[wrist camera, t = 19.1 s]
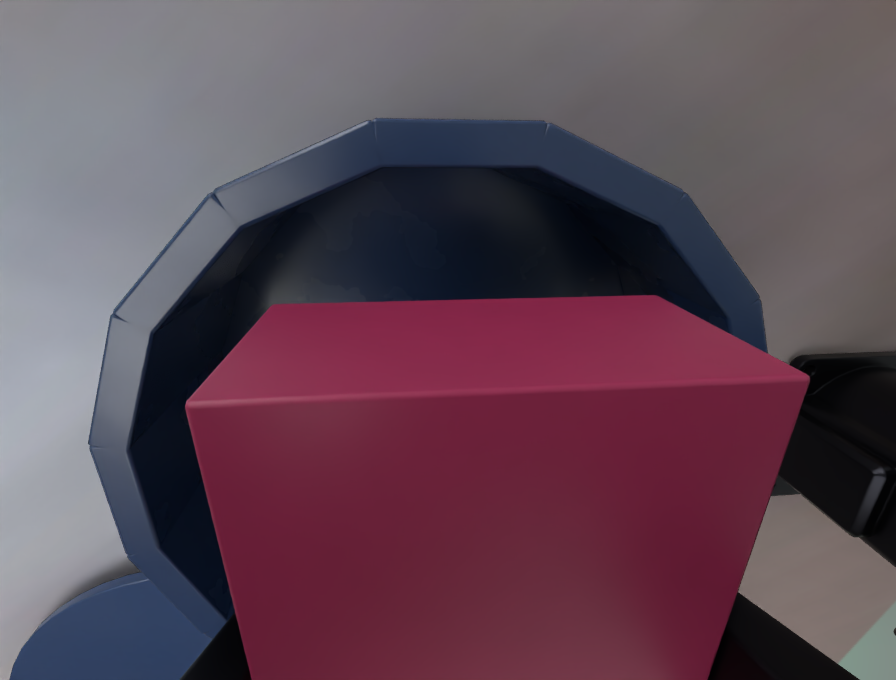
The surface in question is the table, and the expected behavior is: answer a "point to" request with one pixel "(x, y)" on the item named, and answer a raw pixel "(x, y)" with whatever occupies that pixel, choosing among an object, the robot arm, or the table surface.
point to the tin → (373, 286)
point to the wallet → (489, 486)
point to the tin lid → (112, 637)
